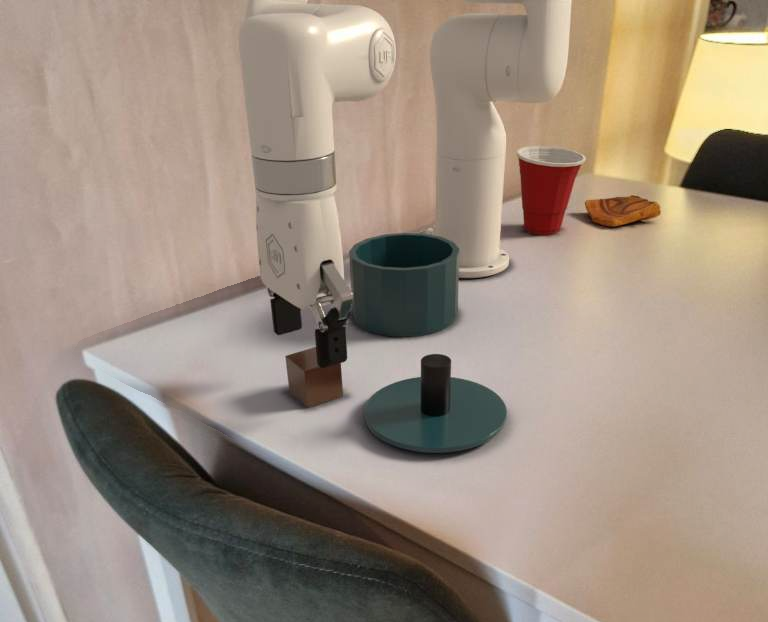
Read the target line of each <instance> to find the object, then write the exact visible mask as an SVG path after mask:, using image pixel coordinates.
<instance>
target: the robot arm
mask: <svg viewBox="0 0 768 622" xmlns="http://www.w3.org/2000/svg"><path fill="white" fill-rule="evenodd" d="M308 1H309V0H248V1H247V6H246V10H245V16H244V20H243V21H242V23H241V25H240V27H239V30H238V50H239V59H240V67H241V75H242V77H241V78H242V84H243V85H242V86H243V92H244V94H243V96H244V102H245V103H244V104H245V110H246V119H247V129H248V136H249V137H248V139H249V145H250V154H251V163H252V172H253V181H254V189H255V194H256V196H255V223H256V224H255V225H256V241H257V243H256V244H257V255H258V267H259V275H260V280H261V282H262V284H263V285H264V286H265V287H267V289H266V290H267V294H268V296H269V298H270V299H269V303H270V311H271V321H272V327H273V328H272V329H273V333H274V334H275V335H277V336H282V335H285V334H289V333H294V332H297V331H300V330H301V329H302V328H303V321H302V311H301V310H304V309H308V308H310V310H311V312H312V315H313V318H314V320H315V322H316V325H317V327H318V328H316V329H314V339H315V340H314V341H315V347H316V354H317V365H318V366H319V367H321V368H325V367H329V366H332V365H336V364H339V363H341V364H342V363H345V362H347V360H348V345H347V344H348V343H347V326H348V325H349V319H350V317H351V315H352V314H351V313H352V312H351V310H352V301H353V294H352V292H351V288H350V287H349V285H348V284H347V282H346V280H345V267H344V255H343V245H342V236H341V235H342V234H341V228H340V227H341V226H340V220H339V214H338V208H337V202H336V197H335V194H334V193H335V192H337V190H338V189H337V188H338V187H337V174H336V153H335V152H336V151H335V138H334V136H335V134H334V119H333V118H334V117H333V116H334V115H333V104H334V103H340V102H342V103H343V102H362V101H367V100H369V99H372V98H374V97H375V96H377V95H378V94H379V93H381V92H382V91H383V90H384V88H385V87H386V86H387V84H388V83H389V81H390V79H391V77H392V75H393V73H394V70H395V66H396V60H397V45H396V40H395V36H394V33H393V31H392V28H391V26H390V25H389V23H388V21H387V20H386V19H385V18H384V17H383V16H382V15H381V13H379V12H377V11H375V10H374V9H372V8H369V7H366V6H363V5H355V4H327V3H308ZM456 1H457V2H461V3H470V4H471V3H472V4H519V5H520V4H521V5H522V6H523V7H524V9H525V13H526V14H505V13H461V14H458V15H455V16H452V17H449V18H448V19H446V20H444V21H443V22H442V23H441V24H440V25H439V26H438V27H437V28H436V30H435V32H434V34H433V36H432V39H431V41H430V49H429V63H430V74H431V80H432V86H433V94H434V101H435V110H436V111H435V115H436V116H435V117H436V155H435V156H436V158H435V159H436V163H435V164H436V165H435V166H436V167H435V168H436V169H435V174H436V175H435V222H434V224H433V225H432V228H431V227H428V228H427V229H426V230H425V233H424V234H429V235H434V236H439V237H443V238H445V239H447V240H450V241H452V242H454V243H455V244H456V246H457V247H458V248H459V249H460V254H459V279H477V278H484V277H489V276H494V275H497V274H500V273H502V272H503V271H505V270H506V269H507V268H508V267H509V264H510V255H509V254H508V253H507V251H506V250H504V249H502V248H501V247H500V246H501V245H500V244H501V229H502V214H503V212H502V211H503V198H504V186H505V185H504V182H505V167H506V154H507V153H506V152H507V133H506V129H505V125H504V122H503V120H502V119H501V118H502V117H501V116H500V114H499V111H498V110H497V108H496V106H495V105H494V102H505V103H506V102H507V103H525V104H542V103H546V102H549V101H552V100H553V99H555V97H556V96H557V95H559V93H560V91H561V89H562V87H563V84H564V81H565V78H566V72H567V68H568V60H569V47H570V34H571V33H570V32H571V20H572V19H571V17H572V2H573V0H456ZM321 294H323V295H322V296H319V295H321ZM329 305H331V308H330V309H328V311H327V313H326V314H325V313H324V310H323V308H322V307H325V306H329Z"/></svg>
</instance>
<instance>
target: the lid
mask: <svg viewBox="0 0 768 622" xmlns="http://www.w3.org/2000/svg"><path fill="white" fill-rule="evenodd" d="M507 412H508V410H507V406H506V404H505V402H504V400H503V398H502V397H501V396H500V395H498V394H497V393H496V392H495V391H493V390H492V389H491V388H489V387H487V386H485V385H483V384H481V383H478V382H475V381H472V380H469V379H464V378H460V377H455V376H453V377H452V358H450V357H449V356H448V355H446V354H443V353H442V354H441V353H430V354H427V355H424V356H423V357H421V359H420V376H417V377H411V378H406V379H402V380H399V381H395V382H393V383H390V384H387V385H386V386H384V387H382V388H380V389H379V390H377V391H376V392H375V393H373V394H372V395H371V396H370V398H369V399H368V400H367V402H366V403H365V407H364V422H365V424H366V426H367V428H368V429H369V431H370V432H371V433H372V434H373V435H374V436H375V437H377V438H378V439H380V441H383V442H385V443H387V445H391V446H394V447H396V448H399V449H403V450H406V451H412V452H419V453H431V454H439V453H440V454H442V453H443V454H444V453H454V452H460V451H464V450H469V449H472V448H475V447H478V446H481V445H483V444H485V443H487V442H489V441H491V440H493V439H494V438H495V437H496V436H497V435H499V434H500V432H501V431H502V430H503V428H504V427H505V425H506V422H507Z"/></svg>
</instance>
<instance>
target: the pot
mask: <svg viewBox="0 0 768 622" xmlns="http://www.w3.org/2000/svg"><path fill="white" fill-rule="evenodd" d="M459 254H460V249H459V248H458V247H457V246H456V244H455V243H454V242H452V241H450V240H447V239H445V238H443V237H439V236H434V235H429V234H425V233H420V232H419V233H416V232H397V233H386V234H381V235H376V236H372V237H368V238H365V239H363V240H360V241H359V242H357V243H355V244H353V245H352V247H351V248H350V250H349V251H348V257H349V259H348V260H349V276H350V290H351V292H352V294H353V301H352V305H351V310H352V312H351V313H352V314H353V315H352V316H353V317H352V318H353V321H354V323H355V324H356V325H357V326H359V327H360V328H362V329H363V330H365V331H367V332H369V333H373V334H376V335H379V336H388V337H395V338H396V337H399V338H402V337H403V338H405V337H406V338H408V337H419V336H426V335H431V334H434V333H437V332H440V331H443V330H444V329H446V328H448V327H450V326H451V325H452V324H453V323H455V321H456V319H457V315H458V308H459V283H460V281H459V279H460V278H459Z"/></svg>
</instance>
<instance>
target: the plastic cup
mask: <svg viewBox="0 0 768 622" xmlns="http://www.w3.org/2000/svg"><path fill="white" fill-rule="evenodd" d="M516 156H517V158H518V167H519V174H520V191H521V193H520V194H521V208H522V216H523V226H524V230H525V232H527V233H529V234H532V235H539V236H550V235H556V234H557V233H559V232H560V230H561V227H562V225H563V221H564V218H565V213H566V211H567V209H568V205H569V202H570V199H571V195H572V192H573V188H574V185H575V182H576V178H577V176H578V173H579V172H580V169H581V167H582V165H583V164H584V163H585V161H586V159H587V157H586V156H585V155H584V154H582V153H580V152H578V151H575V150H571V149H567V148H564V147H556V146H548V145H547V146H544V145H533V146H524V147H520V148H518V149H517V150H516Z"/></svg>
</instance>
